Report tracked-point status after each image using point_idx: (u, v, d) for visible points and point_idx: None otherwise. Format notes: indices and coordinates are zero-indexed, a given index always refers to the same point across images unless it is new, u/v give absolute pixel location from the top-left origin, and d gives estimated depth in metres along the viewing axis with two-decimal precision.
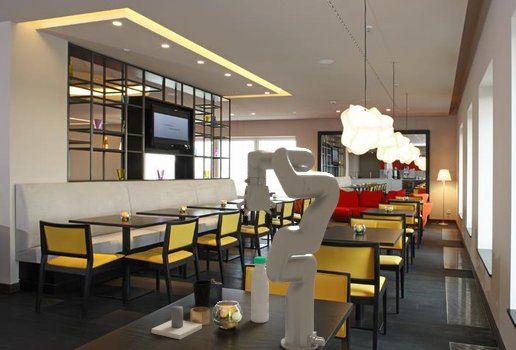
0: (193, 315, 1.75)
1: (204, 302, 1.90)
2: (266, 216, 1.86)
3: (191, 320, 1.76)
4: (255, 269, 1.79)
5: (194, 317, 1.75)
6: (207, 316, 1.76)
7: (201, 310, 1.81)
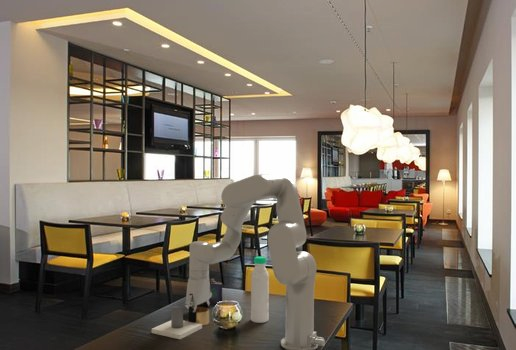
0: None
1: None
2: None
3: None
4: (255, 269, 1.79)
5: None
6: (207, 316, 1.76)
7: (200, 310, 1.80)
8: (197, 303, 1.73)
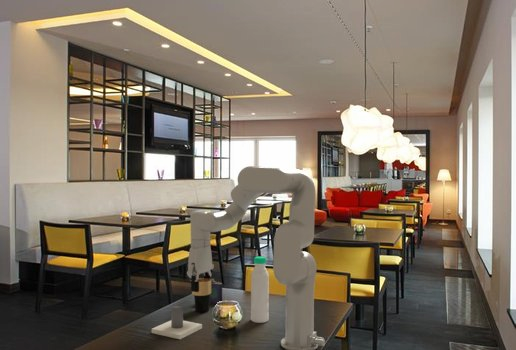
0: None
1: (204, 302, 1.90)
2: None
3: None
4: (255, 269, 1.79)
5: None
6: (209, 286, 1.75)
7: (202, 281, 1.80)
8: (199, 272, 1.73)
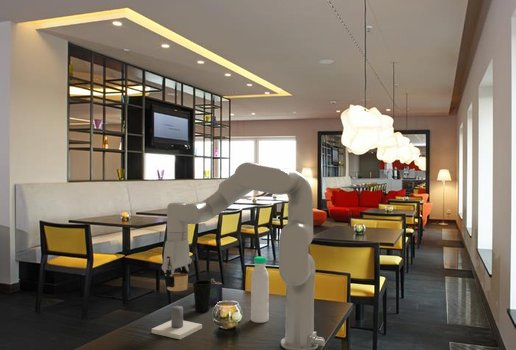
0: None
1: (204, 302, 1.90)
2: None
3: None
4: (255, 269, 1.79)
5: None
6: (185, 281, 1.67)
7: (179, 276, 1.71)
8: (174, 266, 1.64)
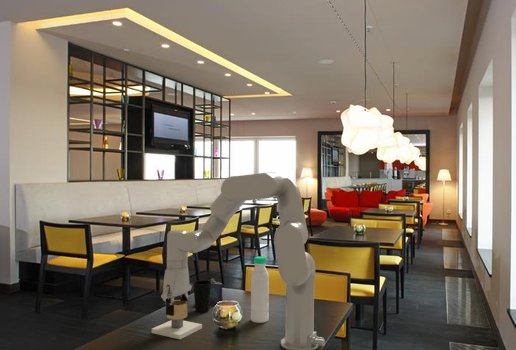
0: None
1: (204, 302, 1.90)
2: None
3: None
4: (255, 269, 1.79)
5: None
6: (184, 309, 1.67)
7: (179, 303, 1.71)
8: (174, 295, 1.64)
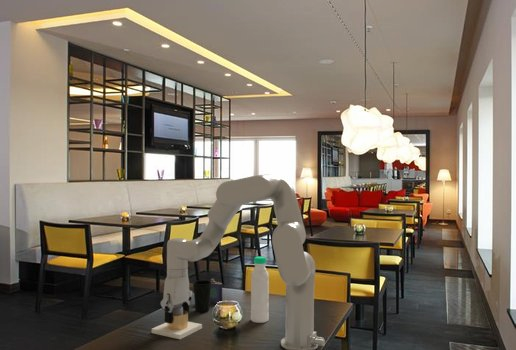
0: None
1: (204, 301, 1.90)
2: None
3: (168, 324, 1.67)
4: (255, 269, 1.79)
5: None
6: (185, 320, 1.67)
7: None
8: (174, 303, 1.64)
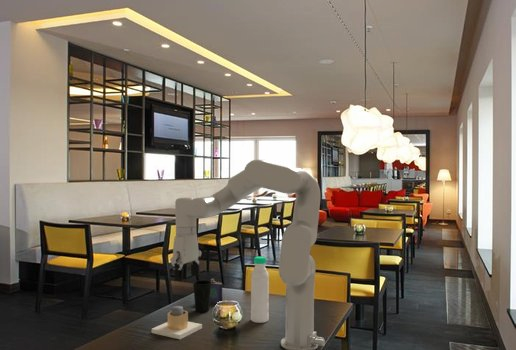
0: (170, 319, 1.66)
1: (204, 302, 1.90)
2: None
3: (168, 324, 1.67)
4: (255, 269, 1.79)
5: (171, 321, 1.65)
6: (185, 320, 1.67)
7: None
8: (184, 261, 1.64)
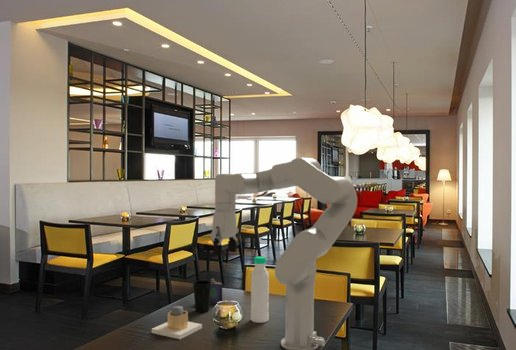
0: (170, 319, 1.66)
1: (204, 301, 1.90)
2: None
3: (168, 324, 1.67)
4: (255, 269, 1.79)
5: (171, 321, 1.65)
6: (185, 320, 1.67)
7: None
8: (224, 236, 1.65)
